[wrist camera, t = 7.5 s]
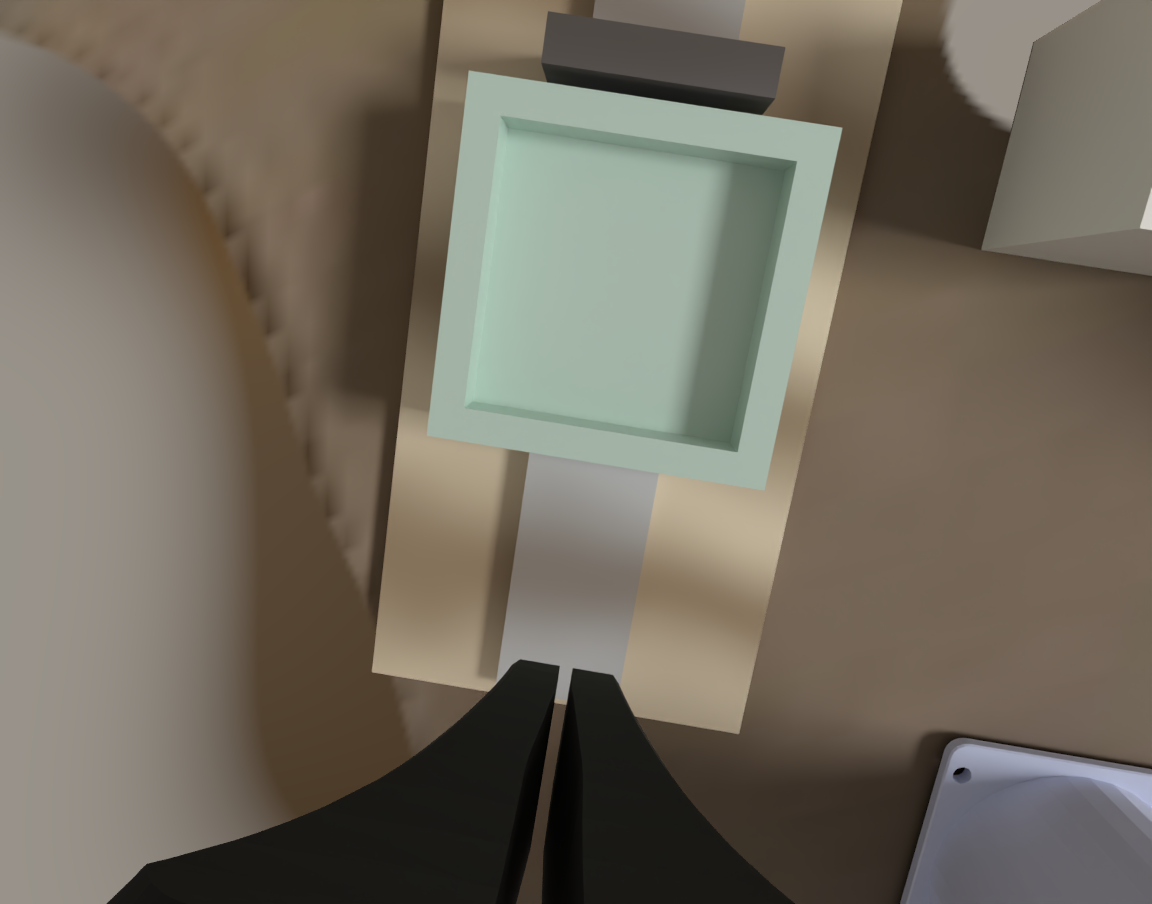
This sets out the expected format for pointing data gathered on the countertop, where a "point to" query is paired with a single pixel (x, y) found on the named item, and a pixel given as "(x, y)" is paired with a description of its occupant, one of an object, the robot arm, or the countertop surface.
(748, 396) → the holder
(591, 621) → the beige rectangular board
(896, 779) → the countertop surface
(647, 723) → the countertop surface
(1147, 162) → the block
